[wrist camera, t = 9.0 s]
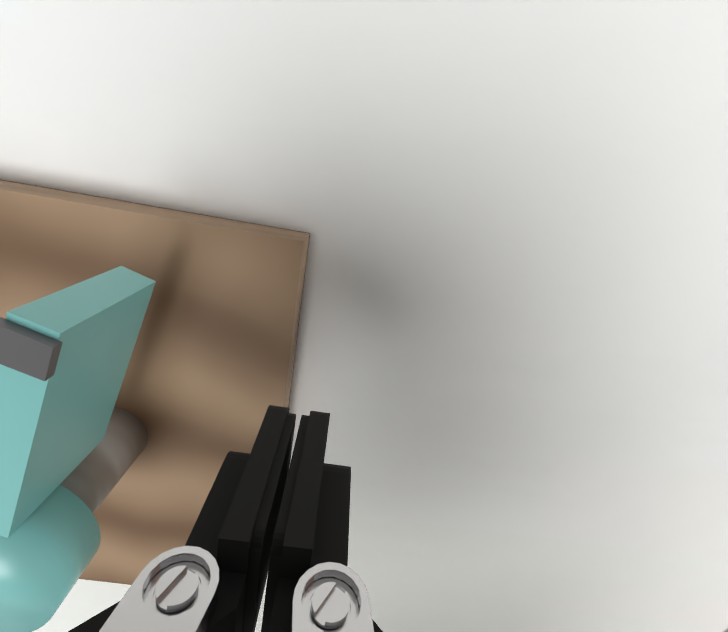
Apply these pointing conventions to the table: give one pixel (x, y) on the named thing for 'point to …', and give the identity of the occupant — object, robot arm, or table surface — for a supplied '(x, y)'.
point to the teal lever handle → (57, 432)
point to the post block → (164, 351)
